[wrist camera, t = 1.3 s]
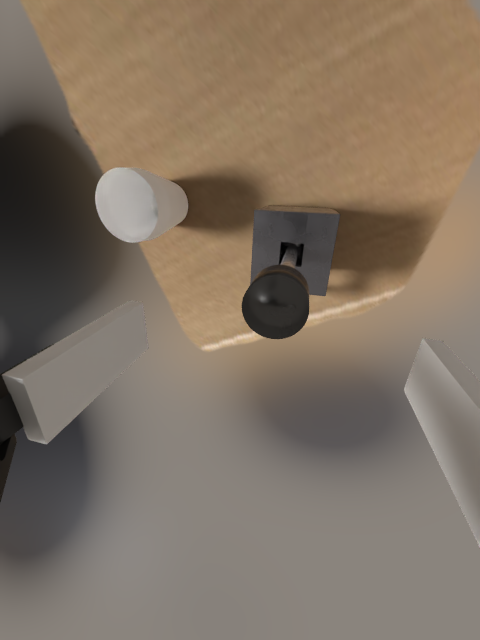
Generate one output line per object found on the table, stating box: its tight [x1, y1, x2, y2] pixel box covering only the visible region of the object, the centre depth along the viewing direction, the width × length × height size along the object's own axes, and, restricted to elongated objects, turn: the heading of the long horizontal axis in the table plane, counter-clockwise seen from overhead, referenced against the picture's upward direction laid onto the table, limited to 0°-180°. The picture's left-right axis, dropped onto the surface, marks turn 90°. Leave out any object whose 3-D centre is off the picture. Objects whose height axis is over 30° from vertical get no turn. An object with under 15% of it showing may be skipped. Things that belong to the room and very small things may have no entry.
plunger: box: [242, 242, 309, 339], centre depth 25 cm, size 6×6×20 cm
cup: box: [95, 168, 188, 242], centre depth 39 cm, size 9×9×12 cm
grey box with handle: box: [250, 205, 340, 296], centre depth 37 cm, size 12×9×13 cm
